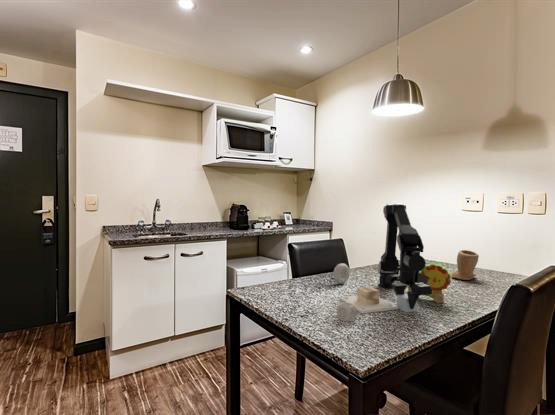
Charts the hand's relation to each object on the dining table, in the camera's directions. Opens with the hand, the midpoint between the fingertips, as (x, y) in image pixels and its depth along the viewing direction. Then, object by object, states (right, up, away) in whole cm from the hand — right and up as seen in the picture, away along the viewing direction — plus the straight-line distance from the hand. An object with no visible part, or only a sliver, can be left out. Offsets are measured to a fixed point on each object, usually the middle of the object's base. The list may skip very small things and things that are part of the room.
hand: (406, 306), depth 119 cm
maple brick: (-13, 0, +5) cm, 14 cm away
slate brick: (0, -1, 0) cm, 1 cm away
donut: (-18, 0, +34) cm, 38 cm away
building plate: (-13, -1, +5) cm, 14 cm away
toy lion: (+14, -1, +12) cm, 18 cm away
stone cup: (+51, -1, +49) cm, 71 cm away
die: (-25, -1, -10) cm, 27 cm away
